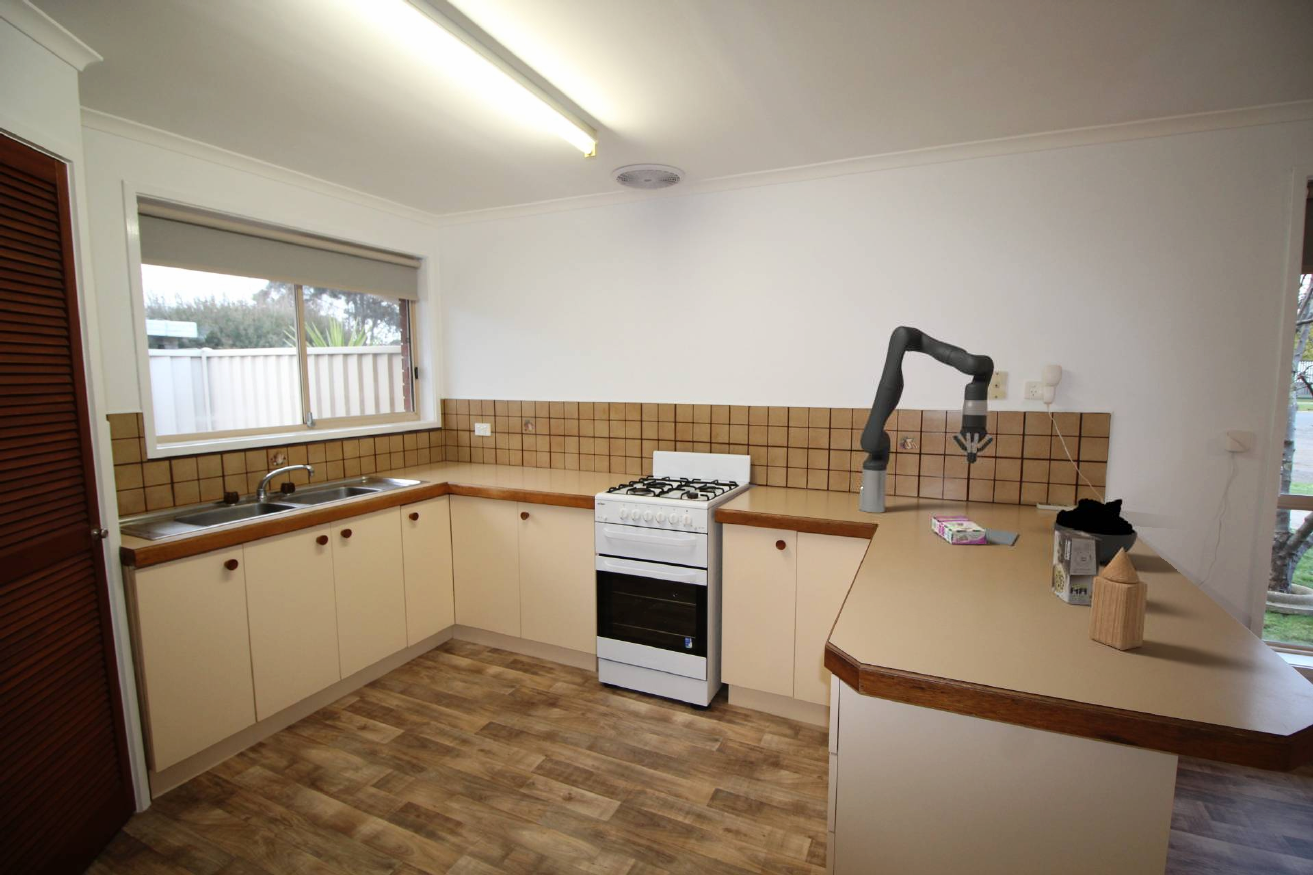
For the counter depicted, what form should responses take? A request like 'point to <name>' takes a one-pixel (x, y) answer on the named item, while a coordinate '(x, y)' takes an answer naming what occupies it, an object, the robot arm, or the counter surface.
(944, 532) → the candy bar box
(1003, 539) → the mat
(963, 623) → the counter surface
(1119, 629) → the decorative item
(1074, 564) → the coffee box
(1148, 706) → the counter surface
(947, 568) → the counter surface
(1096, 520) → the bowl of black rocks
